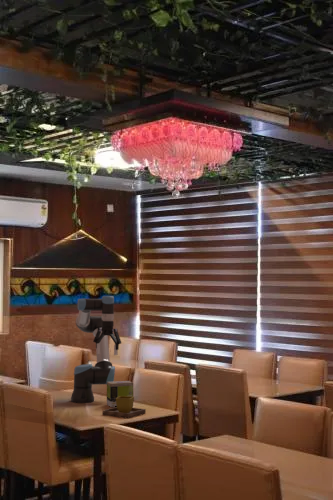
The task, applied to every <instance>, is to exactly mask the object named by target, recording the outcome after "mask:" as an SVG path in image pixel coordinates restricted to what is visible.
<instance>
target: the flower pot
mask: <svg viewBox="0 0 333 500" xmlns="http://www.w3.org/2000/svg"><path fill="white" fill-rule="evenodd" d="M134 400H135V396H133V397H130V396H119V397H117V398H116V406H117V409H118V411H119V412H121V413H129V412H130V411H131V410H132V408H134Z"/></svg>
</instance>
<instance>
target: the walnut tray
mask: <svg viewBox="0 0 333 500" xmlns="http://www.w3.org/2000/svg"><path fill="white" fill-rule="evenodd" d="M146 411H147V409H146V408H137V407H132V410H131V411H130V412H129V413H121V412H119V411H118V409H117V407H110V408H108V409H102V416H110V417H114V418H116V417H117V418H123V419H130V418H131V419H132V418H135V417H137V416H142V415H145V414H144V413H146ZM141 414H142V415H141ZM146 414H147V413H146Z"/></svg>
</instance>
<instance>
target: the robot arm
mask: <svg viewBox="0 0 333 500" xmlns="http://www.w3.org/2000/svg"><path fill="white" fill-rule="evenodd" d="M114 303H115V297H114V296H113V295H103V296H102V297H101V298H84V297H83V298H78V299H77V310H78V315H77V316H76V317H75V325H76V327H77V329H78V330H80V331H81V332H83V333H85V334H86V333H90V334H92V335H93V337H94V338H93V343H95V351H96V354H95V355H96V356H95V357H96V363H95V365H93V363H86V364H85V363H84V364H80V365H76V366H75V367H74V369H73V389H72V393H71V395H70V402H72V403H78V404H80V403H81V404H83V403H85V404H86V403H93V402H95V396H94V393H93V385H105V386H107V382H115V373H116V366H114V365H113V363H112V362H111V360H110V349H109V348H110V346H109V337H110V338H111V340H112V342H113V343H114V346H113V356H118V350H119V346H120V344H122V340H121V338H120V335H119V332H118V328H114V325H115V324H114V320H115V318H114V317H115V311H114V310H115V308H114V307H115V304H114ZM91 311H95V312H96V311H98V312H99V311H101V315H100V316H99V315H91V313H92V312H91Z"/></svg>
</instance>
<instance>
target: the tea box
mask: <svg viewBox="0 0 333 500" xmlns="http://www.w3.org/2000/svg"><path fill="white" fill-rule="evenodd" d="M119 396H130V397H134V383H133V381H130V380H122V381H121V380H119V381H116V380H114V381H113V382H107V385H106V406H108V407H109V406H110V407H109V408H115V406H116V398H117V397H119Z"/></svg>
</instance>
